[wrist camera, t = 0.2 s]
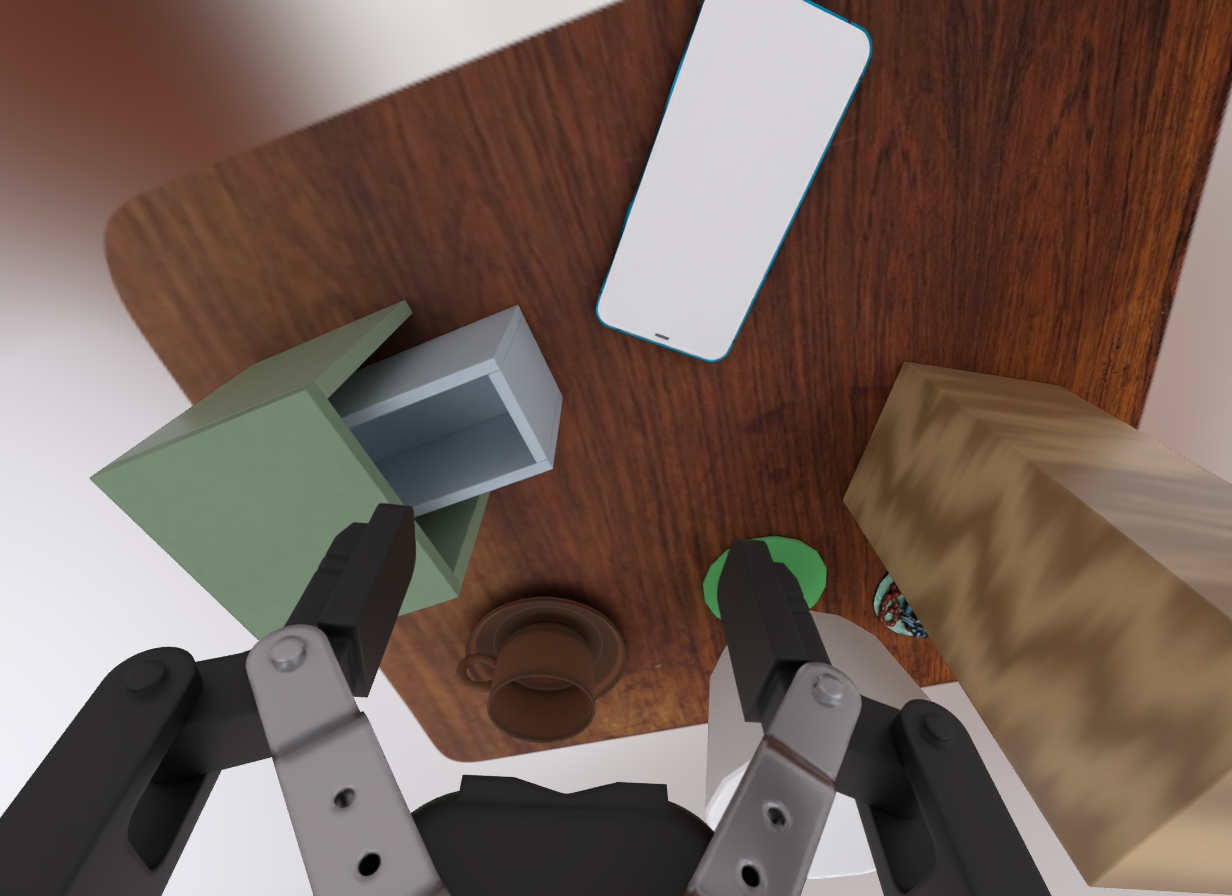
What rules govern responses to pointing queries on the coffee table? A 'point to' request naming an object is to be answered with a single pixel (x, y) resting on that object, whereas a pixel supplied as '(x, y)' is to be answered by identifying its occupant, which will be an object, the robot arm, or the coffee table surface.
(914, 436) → the stand
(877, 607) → the dish
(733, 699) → the cup
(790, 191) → the smartphone
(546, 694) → the cup and saucer
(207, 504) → the cabinet
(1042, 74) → the coffee table surface
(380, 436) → the bin
